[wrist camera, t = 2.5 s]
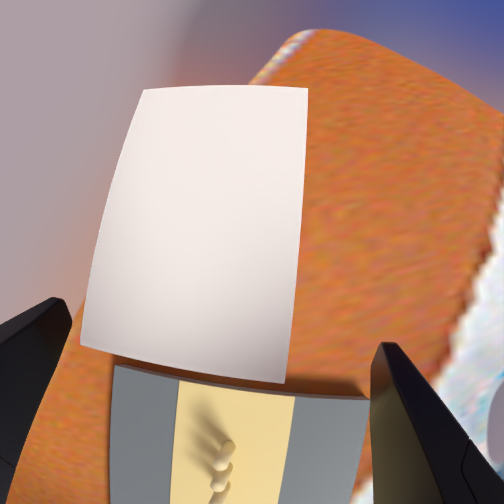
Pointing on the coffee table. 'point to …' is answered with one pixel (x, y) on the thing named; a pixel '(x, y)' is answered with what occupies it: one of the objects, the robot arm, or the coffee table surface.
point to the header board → (230, 442)
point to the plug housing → (203, 232)
